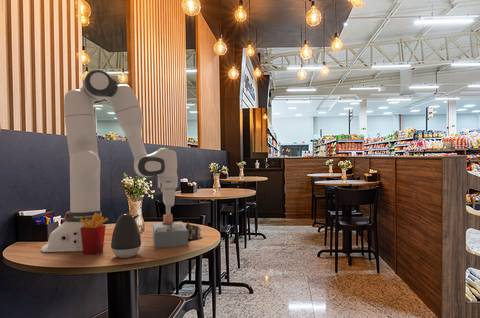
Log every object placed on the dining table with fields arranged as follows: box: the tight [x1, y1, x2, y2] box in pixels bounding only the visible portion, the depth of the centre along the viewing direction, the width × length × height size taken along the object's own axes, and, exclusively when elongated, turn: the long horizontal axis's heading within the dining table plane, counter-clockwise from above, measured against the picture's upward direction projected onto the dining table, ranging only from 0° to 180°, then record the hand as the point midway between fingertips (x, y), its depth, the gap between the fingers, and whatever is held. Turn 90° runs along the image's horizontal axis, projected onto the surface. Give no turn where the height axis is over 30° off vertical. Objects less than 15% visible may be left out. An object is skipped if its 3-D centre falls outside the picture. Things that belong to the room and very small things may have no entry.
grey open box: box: [152, 221, 189, 249], centre depth 143 cm, size 13×23×6 cm, turn 16°
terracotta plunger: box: [162, 213, 174, 225], centre depth 151 cm, size 4×4×5 cm
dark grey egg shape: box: [110, 213, 142, 259], centre depth 119 cm, size 10×10×15 cm
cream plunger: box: [172, 223, 181, 228], centre depth 143 cm, size 4×4×5 cm
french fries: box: [80, 213, 109, 256], centre depth 125 cm, size 9×8×15 cm
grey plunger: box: [157, 227, 167, 232], centre depth 135 cm, size 4×4×5 cm
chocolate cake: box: [185, 221, 202, 241], centre depth 149 cm, size 10×7×12 cm
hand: (168, 214), depth 151 cm, fingers closed
